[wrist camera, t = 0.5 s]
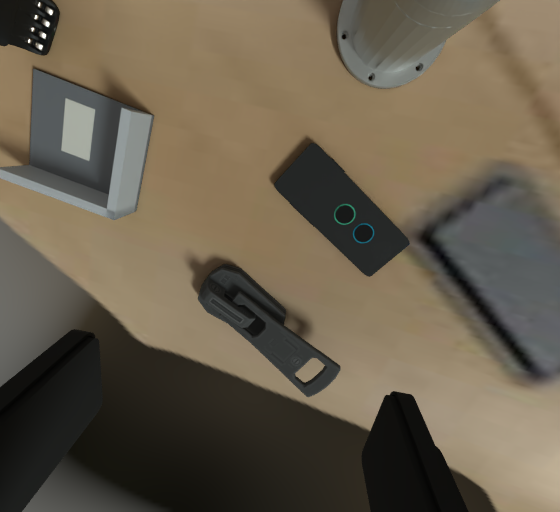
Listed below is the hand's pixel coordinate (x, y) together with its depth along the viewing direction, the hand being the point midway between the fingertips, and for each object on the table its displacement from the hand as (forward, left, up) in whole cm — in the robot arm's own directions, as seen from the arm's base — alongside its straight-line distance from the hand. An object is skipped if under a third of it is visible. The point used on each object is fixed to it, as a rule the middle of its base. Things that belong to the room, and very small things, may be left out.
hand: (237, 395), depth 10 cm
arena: (+3, -29, -35) cm, 46 cm away
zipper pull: (+20, +4, -36) cm, 41 cm away
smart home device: (-1, +8, -36) cm, 37 cm away
